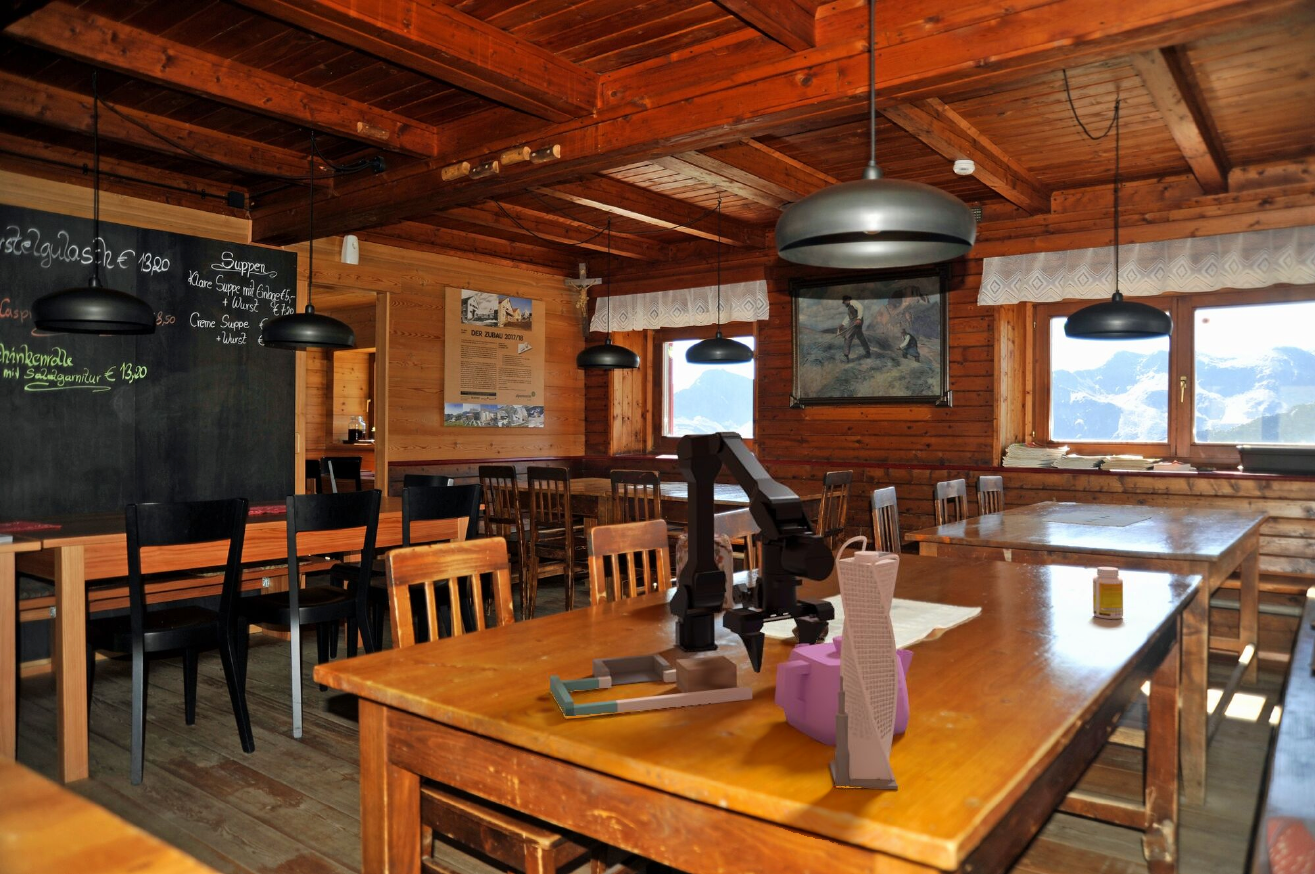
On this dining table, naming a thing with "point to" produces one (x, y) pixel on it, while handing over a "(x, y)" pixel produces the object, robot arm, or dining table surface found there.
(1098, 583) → the supplement bottle
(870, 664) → the skyscraper
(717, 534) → the decorative jar
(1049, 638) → the dining table surface
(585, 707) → the walled track with bay
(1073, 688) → the dining table surface
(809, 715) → the teakettle
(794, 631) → the mushroom
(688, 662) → the block
